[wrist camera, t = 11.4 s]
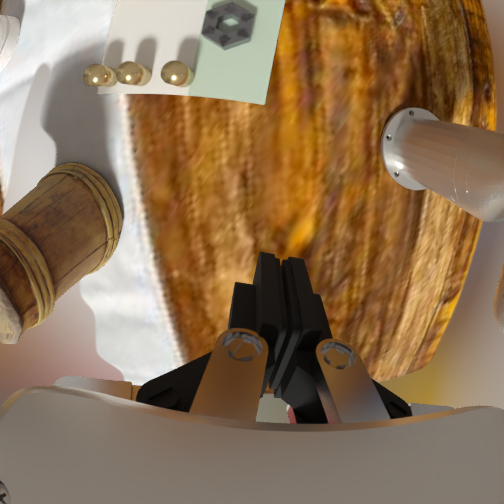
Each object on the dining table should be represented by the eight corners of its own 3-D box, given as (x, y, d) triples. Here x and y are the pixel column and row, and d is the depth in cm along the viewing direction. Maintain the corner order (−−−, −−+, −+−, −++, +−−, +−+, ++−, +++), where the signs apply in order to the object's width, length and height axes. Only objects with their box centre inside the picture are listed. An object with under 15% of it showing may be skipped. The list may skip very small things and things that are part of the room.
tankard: (144, 208, 40) (47, 314, 18) (88, 296, 48) (25, 393, 26) (65, 141, 34) (-61, 189, 12) (25, 240, 43) (-54, 314, 20)
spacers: (218, -23, 23) (213, -39, 19) (192, 88, 31) (183, 84, 27) (125, -17, 22) (111, -28, 18) (100, 87, 30) (82, 86, 26)
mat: (288, -18, 24) (289, -20, 23) (264, 105, 33) (264, 104, 32) (126, -20, 22) (124, -21, 22) (99, 94, 31) (96, 94, 31)
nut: (257, 9, 26) (257, 4, 24) (248, 53, 29) (247, 49, 27) (211, 5, 25) (208, 0, 23) (201, 49, 29) (198, 45, 27)
